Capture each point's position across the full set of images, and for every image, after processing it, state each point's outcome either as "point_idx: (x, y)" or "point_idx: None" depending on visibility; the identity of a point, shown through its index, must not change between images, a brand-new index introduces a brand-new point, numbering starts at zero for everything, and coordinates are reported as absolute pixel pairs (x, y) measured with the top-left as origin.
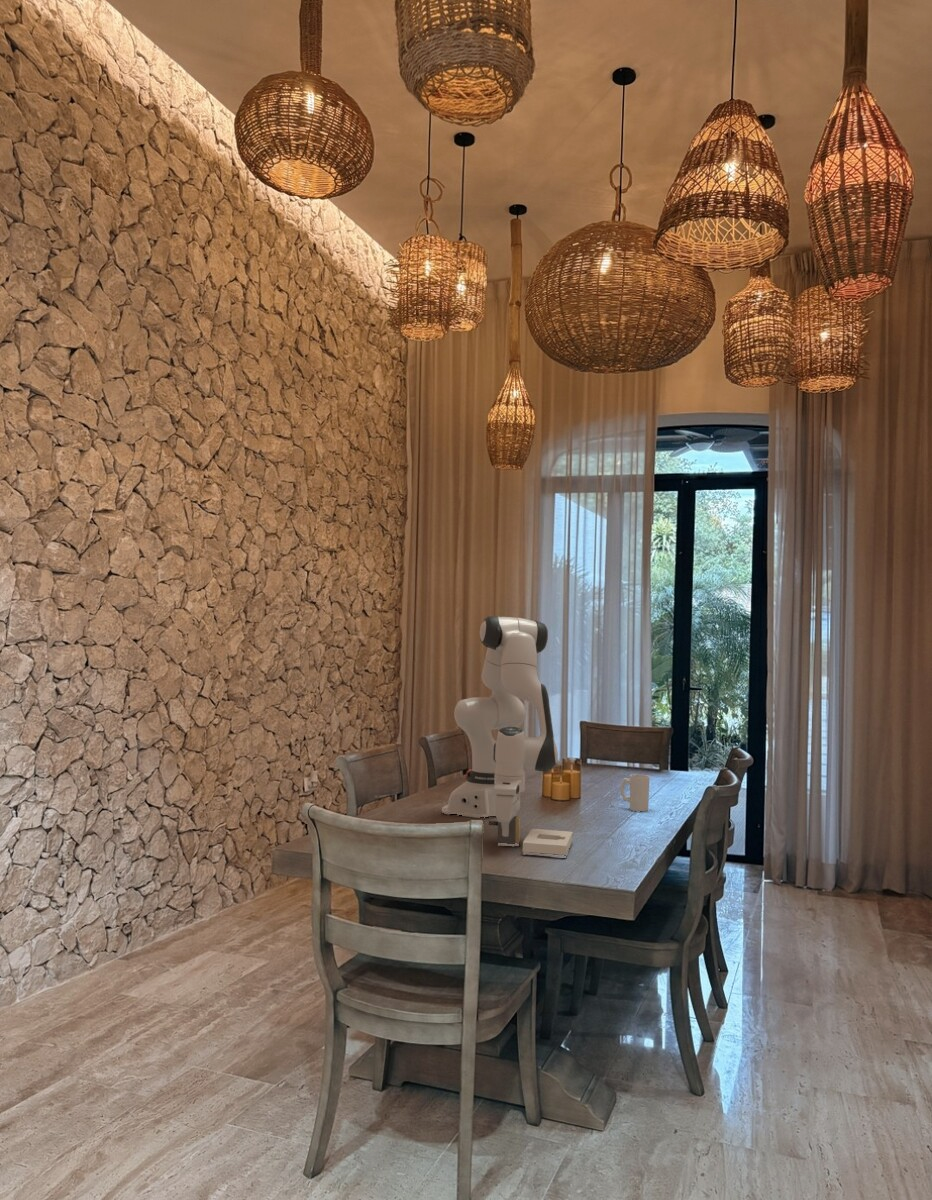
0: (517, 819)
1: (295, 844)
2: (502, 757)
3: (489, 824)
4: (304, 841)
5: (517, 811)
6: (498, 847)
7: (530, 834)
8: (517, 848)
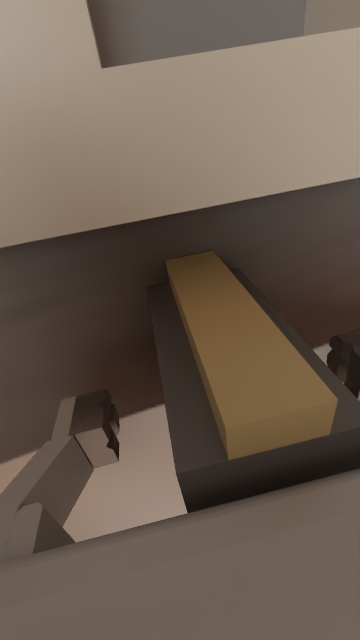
0: (326, 409)
1: None
2: None
3: None
4: None
5: (25, 587)
6: None
7: (187, 182)
8: (252, 243)
